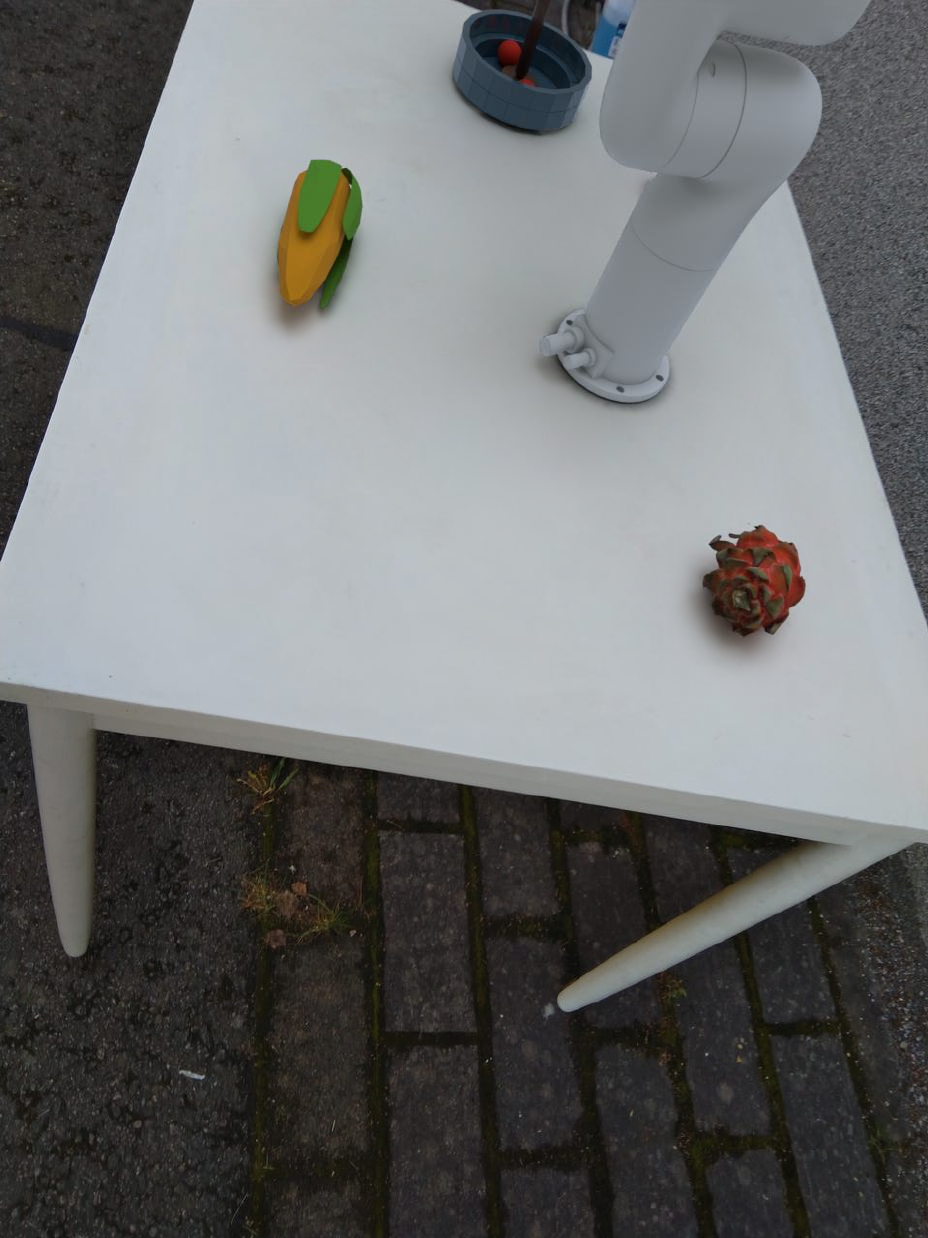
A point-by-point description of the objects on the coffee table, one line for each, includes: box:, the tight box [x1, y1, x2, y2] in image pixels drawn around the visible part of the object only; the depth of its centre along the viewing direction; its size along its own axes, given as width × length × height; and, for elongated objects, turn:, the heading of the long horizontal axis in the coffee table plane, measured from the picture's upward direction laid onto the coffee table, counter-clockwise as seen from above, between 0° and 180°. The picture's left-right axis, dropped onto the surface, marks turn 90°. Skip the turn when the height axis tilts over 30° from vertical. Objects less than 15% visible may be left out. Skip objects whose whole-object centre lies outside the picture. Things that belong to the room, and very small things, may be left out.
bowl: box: [451, 9, 593, 131], centre depth 113 cm, size 17×17×6 cm
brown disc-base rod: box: [501, 0, 552, 87], centre depth 108 cm, size 5×5×16 cm
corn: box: [276, 159, 363, 308], centre depth 87 cm, size 7×8×20 cm
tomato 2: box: [519, 79, 535, 87], centre depth 112 cm, size 3×3×3 cm
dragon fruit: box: [701, 523, 807, 638], centre depth 80 cm, size 8×8×12 cm
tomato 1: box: [498, 40, 521, 66], centre depth 115 cm, size 3×3×3 cm
